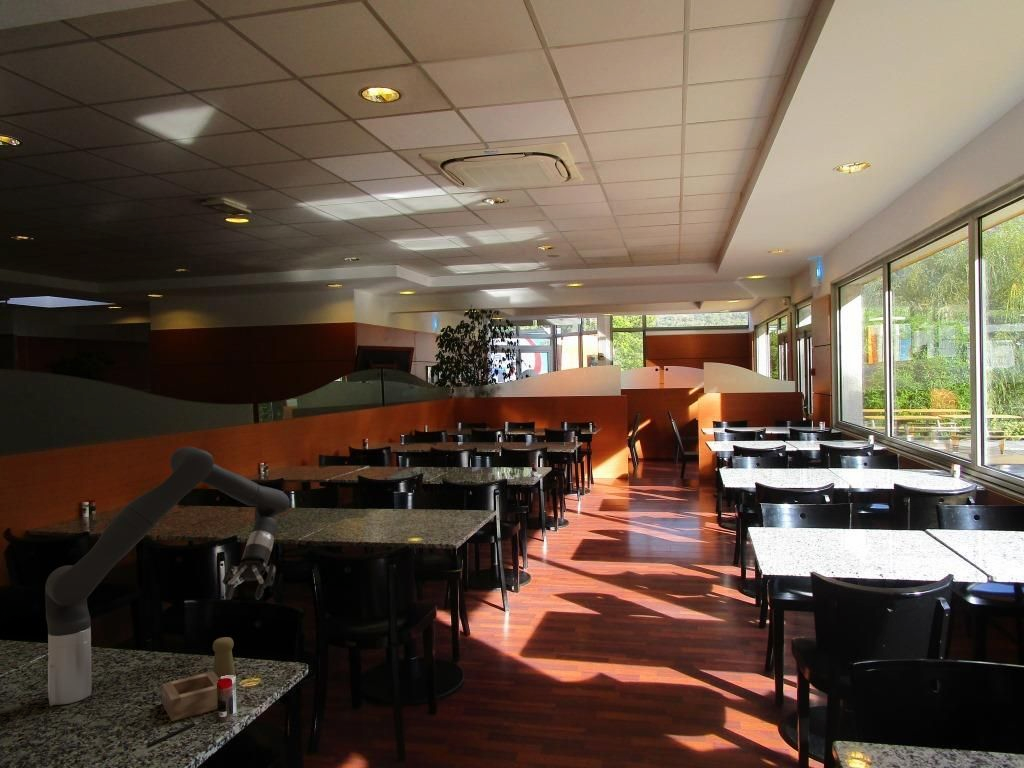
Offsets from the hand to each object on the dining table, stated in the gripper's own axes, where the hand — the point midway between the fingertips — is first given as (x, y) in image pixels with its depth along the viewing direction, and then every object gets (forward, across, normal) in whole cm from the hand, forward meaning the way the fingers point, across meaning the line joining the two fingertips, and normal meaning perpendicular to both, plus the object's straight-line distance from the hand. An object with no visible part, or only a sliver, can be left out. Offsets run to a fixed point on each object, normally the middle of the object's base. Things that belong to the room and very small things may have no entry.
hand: (242, 598), depth 199 cm
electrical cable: (+43, +3, -17) cm, 47 cm away
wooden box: (+32, 0, -7) cm, 33 cm away
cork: (+22, 0, +5) cm, 22 cm away
